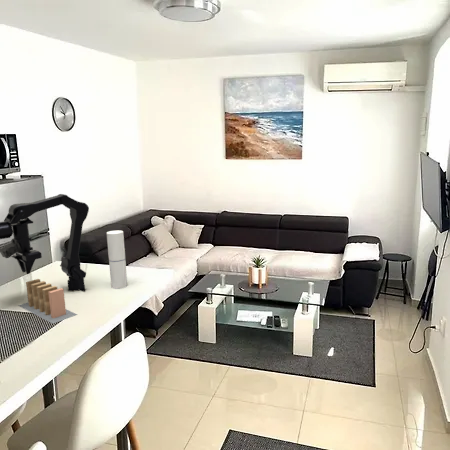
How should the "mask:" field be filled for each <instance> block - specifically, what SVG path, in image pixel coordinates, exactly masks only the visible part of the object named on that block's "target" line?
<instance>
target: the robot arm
mask: <svg viewBox="0 0 450 450" xmlns="http://www.w3.org/2000/svg"><path fill="white" fill-rule="evenodd" d="M61 205H62V206H63V207H65V208H67V209H69V216H70V221H71V224H70V231H69V232H70V233H69V237H68V238H69V239H68V245H67V246H68V247H67V252H66V254H65V257H61V259H60V260H61V261H60V262H61V263H60V265H59V266H60V268H61V271H62V272H63V273H65V274H66V276H67V277H68V280H67V288H68V291H70V292H71V291H73V292H74V291H75V292H76V291H81V292H85V291H86V285H85V278H86V276H87V272H86V271H84V270H83V269H81V260H80V255H79V254H80V253H79V252H80V246H81V240H82V232H83V225H84V224H83V223H84V222H85V221H86V219H87V217H88V214H89V212H90V211H89V210H90V209H89V206H88V204H87V203H86V202H82V201H78V200H75V199H74V198H71V197H70V196H68V195H67V194H63V193H60V194H57V195H55V196H50V197H47V198H43V199H40V200H37V201H33V202H24V203H23V202H22V203H14V204H12V205H10V206H9V208H8V213H7V215H6V217H5V218H4V219H3V221H0V240H5V239H10V238H11V237H12V236H13V237H12V238H11V243H8V244H7V245H4V246H3V247H1V248H0V255H1V256H2V257H3V258H5V259H9V258H13V259H15V260H16V262H17V263H18V266H19V268H20V269H21V271H22V273H26V274H27V275H30V274H31V272H32V269H33V266H34V264H35V261H36V260H39V259H42V258H43V256H42V252H40V251H39V250H36V249H34V248H33V247H32V246H31V241H32V240H33V238H32V237H31V236H30V232H29V231H30V230H29V229H30V228H29V225H30V224H34V221H33V220H32V219H30V218H29V217H31V216H33V215H34V214H36V213H39V212H42V211H44V210H45V211H46V210H48V209H52V208H54V207H58V206H61Z"/></svg>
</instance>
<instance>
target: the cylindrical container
mask: <svg viewBox="0 0 450 450" xmlns="http://www.w3.org/2000/svg"><path fill="white" fill-rule="evenodd" d="M124 235H125V234H124V231H123V230H120V229H119V230H109V231H107V232H106V242H107V253H108V264H109V277H110V287H111V288H112V289H113V290H114V289H115V290H117V289H124V288H126V287H128V276H127V265H126V264H127V263H126V251H125V250H126V248H125V238H124Z"/></svg>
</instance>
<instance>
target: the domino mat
mask: <svg viewBox="0 0 450 450" xmlns="http://www.w3.org/2000/svg"><path fill="white" fill-rule="evenodd" d="M18 307H20V308H22V309H24V310H26V311H28V312H29V313H31V314H33V315H35V316H37V317H39V318H40V319H43V320H45V321H47V322H48V323H50V324H56V323H59V322H61V321H63V320H64V321H65V320H67V319H70V318H72V317H75V316H78V314H77V313H74V312H73V311H71V310H69V309H67V308H66V314H65V315H62V316H59V317H56V318H52V317H51V314H50V315H46V314H45V312H40V310H39V309H37V310H36V309H34V306H32V307H30V306H29V302H28V301H27V302H25V303H21V304H18Z"/></svg>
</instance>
